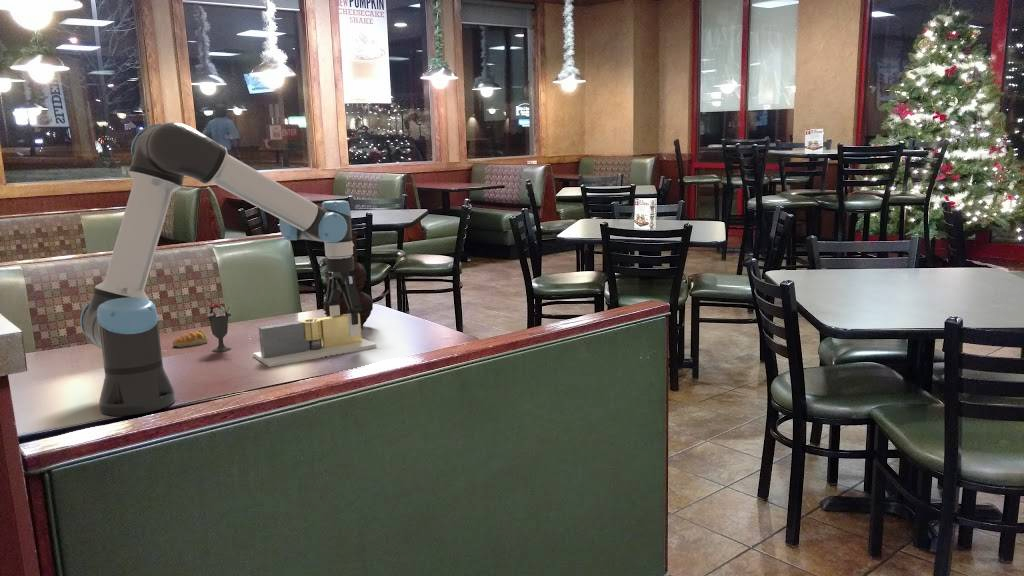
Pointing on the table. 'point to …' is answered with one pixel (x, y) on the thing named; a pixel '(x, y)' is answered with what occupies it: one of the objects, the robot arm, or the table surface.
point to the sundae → (218, 324)
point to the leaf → (330, 330)
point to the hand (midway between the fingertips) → (345, 331)
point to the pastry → (191, 339)
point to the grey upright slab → (285, 340)
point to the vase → (360, 280)
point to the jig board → (315, 353)
